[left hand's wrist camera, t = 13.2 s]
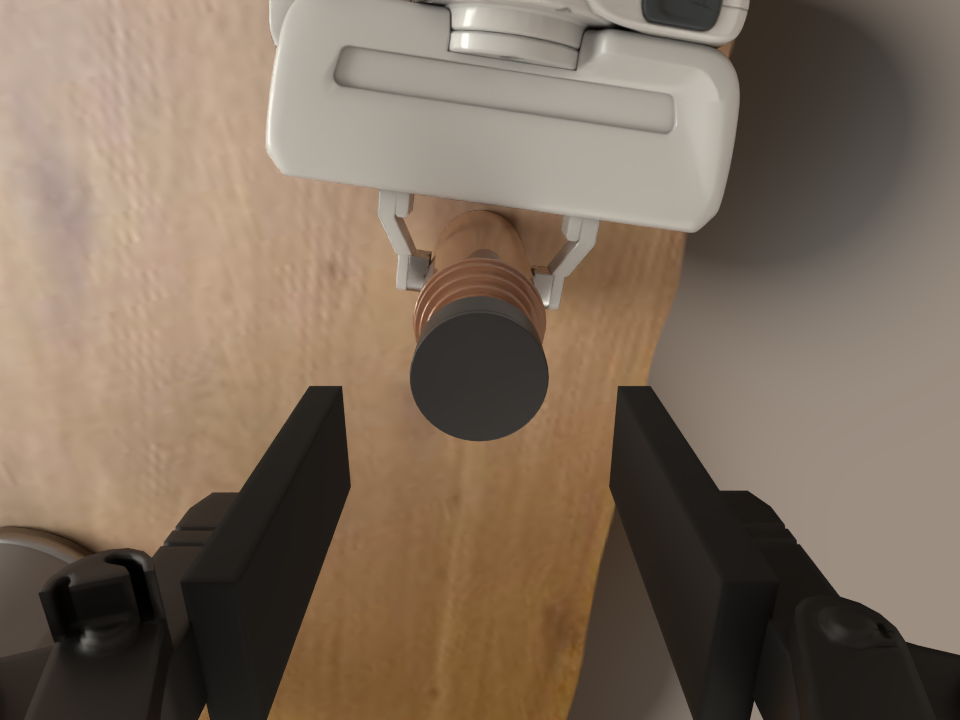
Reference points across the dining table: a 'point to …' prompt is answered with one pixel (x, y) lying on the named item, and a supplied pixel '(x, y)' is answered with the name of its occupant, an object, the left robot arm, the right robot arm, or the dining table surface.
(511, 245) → the bottle
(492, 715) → the dining table surface
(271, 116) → the right robot arm
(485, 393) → the cap
